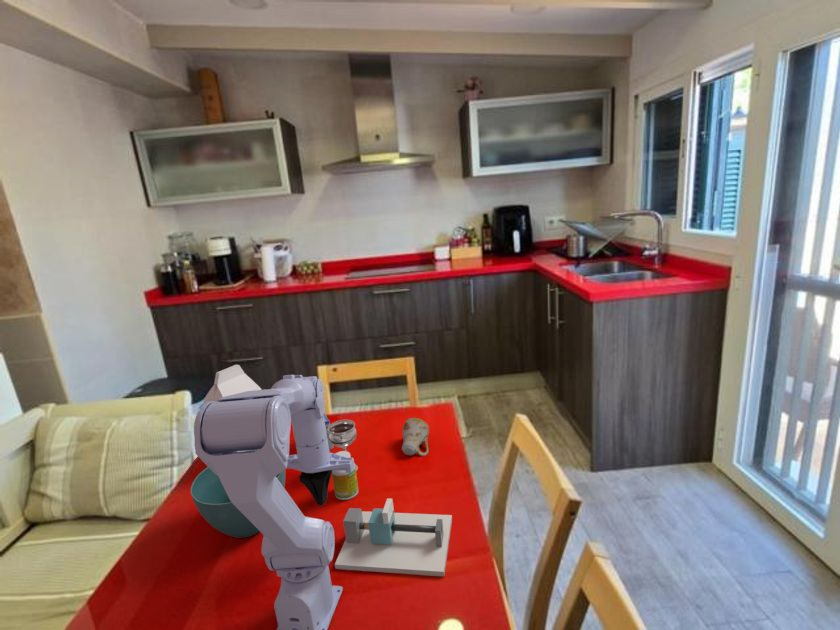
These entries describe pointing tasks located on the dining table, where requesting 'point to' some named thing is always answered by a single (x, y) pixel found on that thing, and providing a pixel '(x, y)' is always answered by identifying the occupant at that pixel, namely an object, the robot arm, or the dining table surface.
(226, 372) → the milk
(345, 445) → the wineglass
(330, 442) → the medicine box
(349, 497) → the supplement bottle
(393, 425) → the dining table surface
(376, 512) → the slider block
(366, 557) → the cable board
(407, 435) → the mug
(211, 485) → the teal bowl
